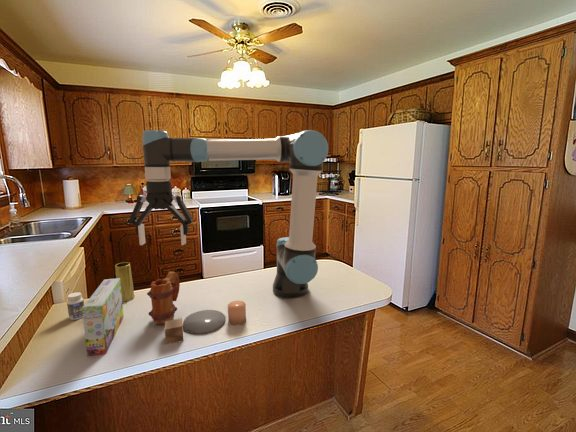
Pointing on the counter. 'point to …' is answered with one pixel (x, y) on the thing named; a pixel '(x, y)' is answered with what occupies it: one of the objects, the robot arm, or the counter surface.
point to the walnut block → (174, 331)
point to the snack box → (102, 316)
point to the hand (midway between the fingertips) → (163, 244)
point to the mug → (164, 297)
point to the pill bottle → (75, 305)
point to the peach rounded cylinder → (236, 312)
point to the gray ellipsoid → (204, 321)
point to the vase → (125, 280)
